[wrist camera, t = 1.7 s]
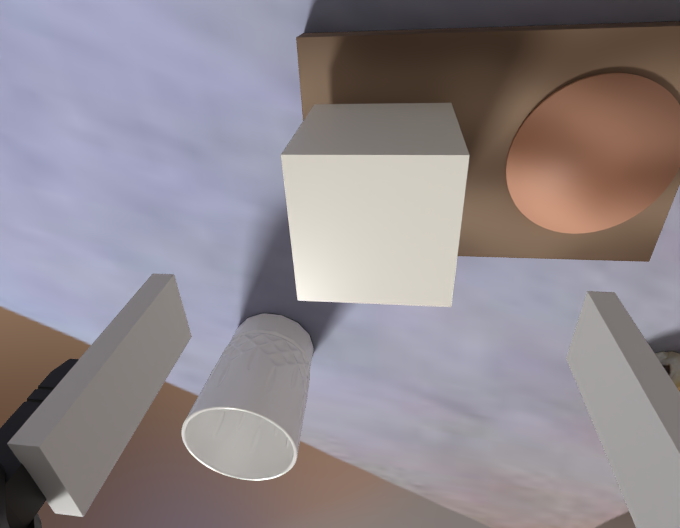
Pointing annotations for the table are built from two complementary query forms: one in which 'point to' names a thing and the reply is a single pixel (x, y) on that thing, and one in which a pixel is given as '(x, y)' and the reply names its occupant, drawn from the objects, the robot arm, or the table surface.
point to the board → (533, 125)
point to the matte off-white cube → (376, 203)
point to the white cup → (253, 401)
